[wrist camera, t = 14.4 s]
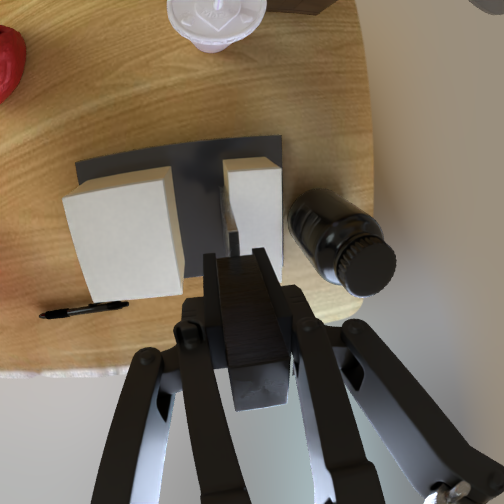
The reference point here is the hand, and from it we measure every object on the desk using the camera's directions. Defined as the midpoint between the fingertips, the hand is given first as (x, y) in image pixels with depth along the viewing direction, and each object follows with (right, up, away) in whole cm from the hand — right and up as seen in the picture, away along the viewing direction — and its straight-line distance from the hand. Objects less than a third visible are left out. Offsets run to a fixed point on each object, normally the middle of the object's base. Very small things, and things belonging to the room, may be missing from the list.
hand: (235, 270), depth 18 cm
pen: (-20, -5, +14) cm, 25 cm away
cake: (-11, +5, +10) cm, 15 cm away
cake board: (-6, +5, +11) cm, 13 cm away
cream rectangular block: (+1, +5, +11) cm, 12 cm away
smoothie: (-3, +21, +3) cm, 21 cm away
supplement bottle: (+8, +5, +13) cm, 16 cm away
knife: (-1, +4, +8) cm, 9 cm away
